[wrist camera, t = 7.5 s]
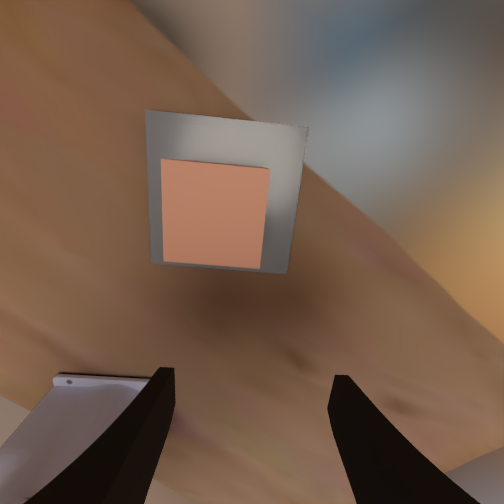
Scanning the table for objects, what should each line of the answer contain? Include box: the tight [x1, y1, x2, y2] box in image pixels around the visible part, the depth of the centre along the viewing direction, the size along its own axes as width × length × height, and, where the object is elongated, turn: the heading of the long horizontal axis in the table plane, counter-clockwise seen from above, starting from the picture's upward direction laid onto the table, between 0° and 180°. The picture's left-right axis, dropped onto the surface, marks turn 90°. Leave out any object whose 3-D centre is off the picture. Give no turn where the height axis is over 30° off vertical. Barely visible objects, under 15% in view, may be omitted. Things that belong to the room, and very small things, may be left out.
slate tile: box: [145, 110, 309, 274], centre depth 18 cm, size 10×10×1 cm
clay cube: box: [161, 159, 271, 269], centre depth 15 cm, size 5×5×5 cm
